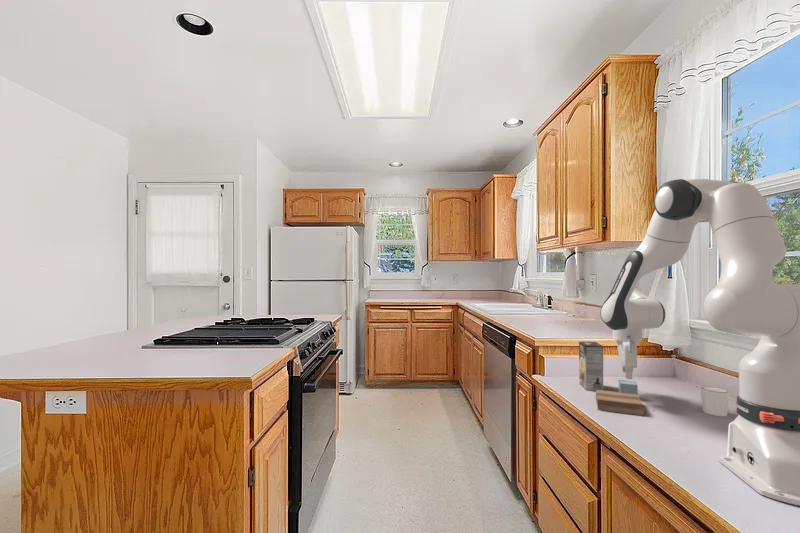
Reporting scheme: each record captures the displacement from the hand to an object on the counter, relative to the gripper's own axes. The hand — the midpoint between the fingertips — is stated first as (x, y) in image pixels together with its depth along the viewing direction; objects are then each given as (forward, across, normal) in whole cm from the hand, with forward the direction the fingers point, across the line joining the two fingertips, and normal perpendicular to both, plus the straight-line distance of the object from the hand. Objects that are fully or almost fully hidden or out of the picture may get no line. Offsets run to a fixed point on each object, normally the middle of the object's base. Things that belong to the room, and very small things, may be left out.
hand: (627, 375), depth 134 cm
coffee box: (+8, +8, +11) cm, 15 cm away
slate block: (+7, 0, 0) cm, 7 cm away
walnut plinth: (+7, -14, +4) cm, 16 cm away
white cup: (+7, -8, -22) cm, 24 cm away
